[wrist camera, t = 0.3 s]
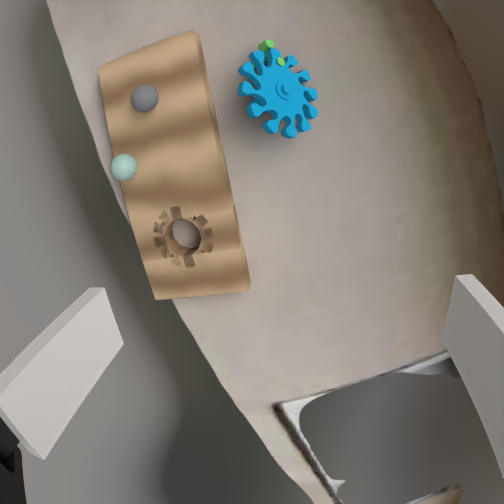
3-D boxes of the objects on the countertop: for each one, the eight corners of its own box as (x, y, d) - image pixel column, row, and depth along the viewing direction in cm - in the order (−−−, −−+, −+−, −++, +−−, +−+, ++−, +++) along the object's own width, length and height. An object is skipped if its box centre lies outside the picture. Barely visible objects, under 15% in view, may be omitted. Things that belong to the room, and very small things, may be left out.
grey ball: (136, 91, 31) (123, 89, 28) (160, 82, 30) (148, 79, 27) (141, 116, 32) (127, 115, 29) (165, 108, 31) (153, 106, 28)
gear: (329, 135, 31) (255, 137, 26) (292, 144, 36) (221, 149, 31) (310, 46, 29) (235, 30, 23) (276, 63, 34) (206, 55, 28)
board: (108, 69, 32) (97, 67, 30) (199, 35, 30) (193, 29, 28) (162, 291, 43) (155, 299, 41) (250, 282, 41) (248, 291, 38)
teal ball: (116, 156, 34) (102, 159, 31) (138, 149, 34) (124, 151, 31) (122, 181, 35) (108, 186, 32) (144, 175, 35) (131, 179, 32)
